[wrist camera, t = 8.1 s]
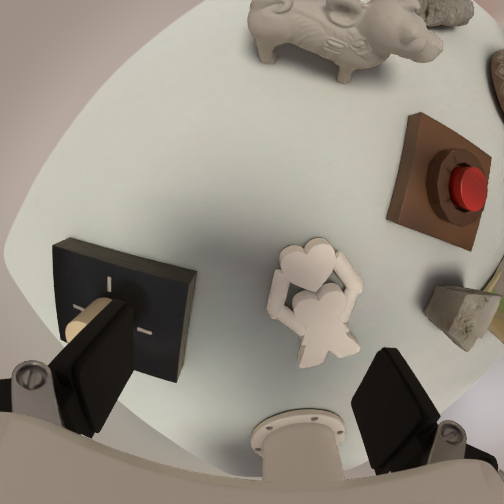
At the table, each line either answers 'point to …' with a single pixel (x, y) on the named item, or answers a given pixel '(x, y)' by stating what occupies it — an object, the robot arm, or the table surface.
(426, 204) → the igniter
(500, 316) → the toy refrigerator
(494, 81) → the planter
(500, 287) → the grey rectangular panel
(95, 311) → the knob
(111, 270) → the panel
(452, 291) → the mineral specimen
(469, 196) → the button
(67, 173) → the table surface
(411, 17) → the dog figurine
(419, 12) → the seashell
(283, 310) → the white abstract figurine
